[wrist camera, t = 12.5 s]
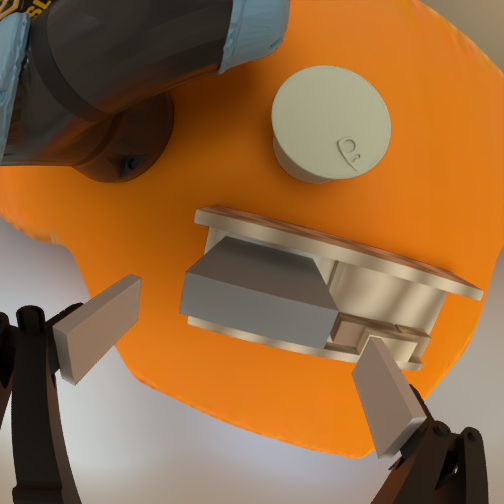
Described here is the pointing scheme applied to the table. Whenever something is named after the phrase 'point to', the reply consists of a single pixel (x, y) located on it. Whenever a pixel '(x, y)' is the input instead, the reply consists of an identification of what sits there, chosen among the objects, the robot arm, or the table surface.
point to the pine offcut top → (389, 343)
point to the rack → (342, 278)
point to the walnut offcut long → (355, 328)
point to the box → (23, 7)
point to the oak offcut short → (416, 338)
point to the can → (328, 125)
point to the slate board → (260, 293)
